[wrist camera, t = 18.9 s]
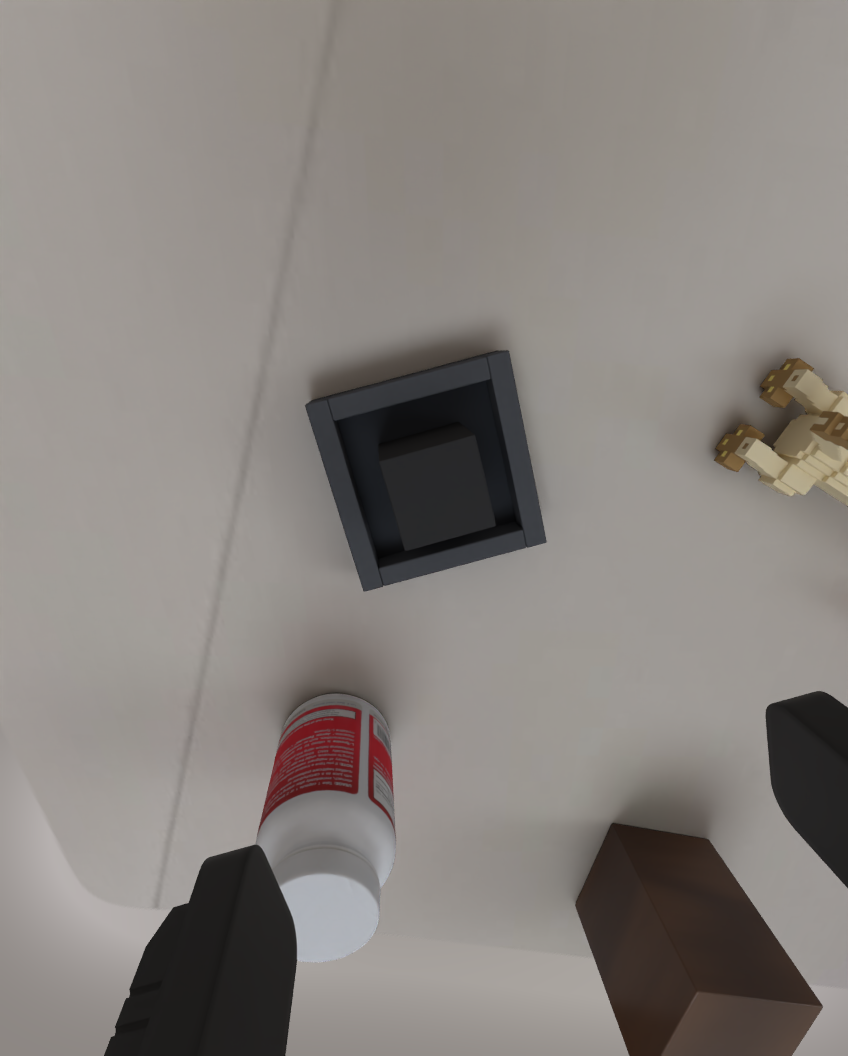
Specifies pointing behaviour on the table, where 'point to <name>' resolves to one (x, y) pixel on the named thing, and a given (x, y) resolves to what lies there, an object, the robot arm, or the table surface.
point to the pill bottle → (331, 823)
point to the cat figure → (797, 437)
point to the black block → (436, 485)
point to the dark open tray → (412, 407)
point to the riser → (688, 952)
